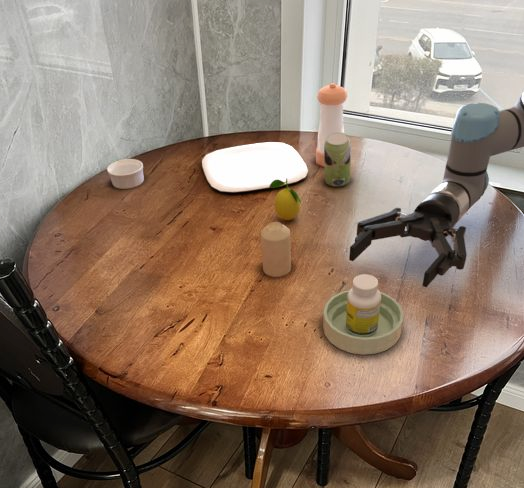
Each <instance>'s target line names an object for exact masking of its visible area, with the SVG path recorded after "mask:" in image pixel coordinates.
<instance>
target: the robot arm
mask: <svg viewBox="0 0 524 488" xmlns="http://www.w3.org/2000/svg"><path fill="white" fill-rule="evenodd" d="M521 148H524V92H523V93H522V94H521V95H520V97H519V98H518V100H517V101H516V102H515V104H514V105H513V106H511V107H508V108H506V109H501V110H499V108H498V107H497V106H495V105H493V104H490V103H486V102H478V103H473V102H472V103H467V104H464V105H462V106H460V107H459V108H458V110H457V112H456V115H455V118H454V121H453V125H452V128H451V132H450V142H449V148H448V153H447V157H446V163H445V166H444V167H445V168H444V173H443V178H442V181H441V182H440V184H438V185H437V187H435V188H434V189H433V190H432V191H430V193H429V194H428V195H427V196H426V197H425V198H423V200H422V201H421V202H420V203H418V205H417V206H416V207H415V208H414V209H413V211H412V212H410V213H408V214H406V213H404V212H402V208H401V207H398V206H397V207H394V208H393V209H392V210H390V211H389V212H384V213H382V214H378V215H375V216H373V217H369V218H366V219H363V220H360V221H358V222H357V224H356V236H355V237H354V242H353V243H352V244H351V245H350V246H349V257H348V261H351V262H354V261H355V260H356V259H357V258H358V257H359V256H360V255H361V254H363V252H364V251H366V250H367V249H368V248H369V247H370V246H371V245H372V242H373V241H376V240H381V239H387V238H393V237H394V238H395V237H400V238H407V237H412V238H414V239H415V238H416V239H419V240H422V241H424V242H427V241H429V243H430V245H431V247H432V248H434V249H435V251H436V252H437V255H438V257H437V258H436V259H435V260H434V261H433V262H432V263H431V264H430V266H429V267H428V268H427V269H426V270H425V272H424V275H423V281H422V285H421V286H422V287H425V288H428V287H429V286H430V284H431V283H432V282H433V281H434V280H435V278H436V277H437V276H441V277H442V276H444V275H446V273H447V272H448V271H449V269H451V268H452V267H455V268H456V269H457V270H461V271H462V270H464V269H465V265H466V261H467V257H468V256H467V255H468V254H467V248H466V241H465V235H466V230H467V227H466V226H463V225H461V226H459V227H458V228H454V227H455V226H456V225H457V223H459V221H460V220H461V219H462V218H463V217H464V216H465V215H466V213H468V211H469V210H470V209H471V208H472V207H473V206H474V205H476V203H477V202H478V201H480V199H481V198H482V196H484V194H485V192H486V190H487V189H488V186H489V183H490V177H489V174H488V166H489V162H490V158H491V157H492V156H493V157H494V156H496V155H500V154H503V153H507V152H510V151H514V150H517V149H521ZM449 236H450V238H451V242H452V243H453V248H452V246H451V245H450V243H449V241H448V240H447V237H449Z"/></svg>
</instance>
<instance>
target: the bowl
mask: <svg viewBox="0 0 524 488" xmlns="http://www.w3.org/2000/svg"><path fill="white" fill-rule="evenodd" d="M349 291H350V289H347V290H344V291H341V292H338V293H337V294H335V295H333V296H331V297H330V298H329V299H328V301H327V302H326V303H325V305H324V308H323V313H322V314H323V315H322V316H323V317H322V328H323V334H324V336H325V337H326V339H327V340H328V341H329V343H330V344H332V345H333V346H335V347H336V348H337V349H339V350H342V351H344V352H347V353H349V354H355V355H375V354H379V353H382V352H385V351H388V350H389V349H390V348H392V347H393V346H395V345H396V344H397V342H398V341H399V339H400V338H401V335H402V328H403V323H404V314H405V313H404V311H403V309H402V306H401V304H400V303H399V302H398V301H397V300H396V299H395V298H393V297H392V296H390V295H389V294H387V293H384V292H382V291H380V293H381V304H380V312H379V321H378V328H377V331H376V332H375V333H374V334H373V335H371V336H368V337H358V336H354V335H352V334H351V333H349V332H348V330H347V328H346V313H347V297H348V292H349Z"/></svg>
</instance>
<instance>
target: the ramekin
mask: <svg viewBox="0 0 524 488" xmlns="http://www.w3.org/2000/svg"><path fill="white" fill-rule="evenodd" d="M106 171H107V174H108V176H109V178H110V181H111V184H112V186H113V187H114V188H116V189H120V190H126V189H127V190H128V189H132V188H136V187H139V186H140V185H142V184H143V183H144V181H145V177H144V175H145V174H144V163H143V162H142V161H141V160H139V159H135V158H122V159H119V160H116V161H114V162H112V163H110V164H109V165H108V166H107V168H106Z"/></svg>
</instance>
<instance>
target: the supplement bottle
mask: <svg viewBox="0 0 524 488" xmlns="http://www.w3.org/2000/svg"><path fill="white" fill-rule="evenodd" d="M351 286H352V287H351V288H350V289H349V290H350V291H349V292H348V297H347V313H346V328H347V330H348V332H349V333H351V334H352V335H354V336H358V337H368V336H371V335H373V334H374V333H375V332H376V331H377V328H378V321H379V312H380V304H381V293H380V292H381V291H380V290H379V281H378V278H376V276H374V275H371V274H367V273H365V274H364V273H363V274H358V275H356V276H355V277H354V278H353V280H352V285H351Z"/></svg>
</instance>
